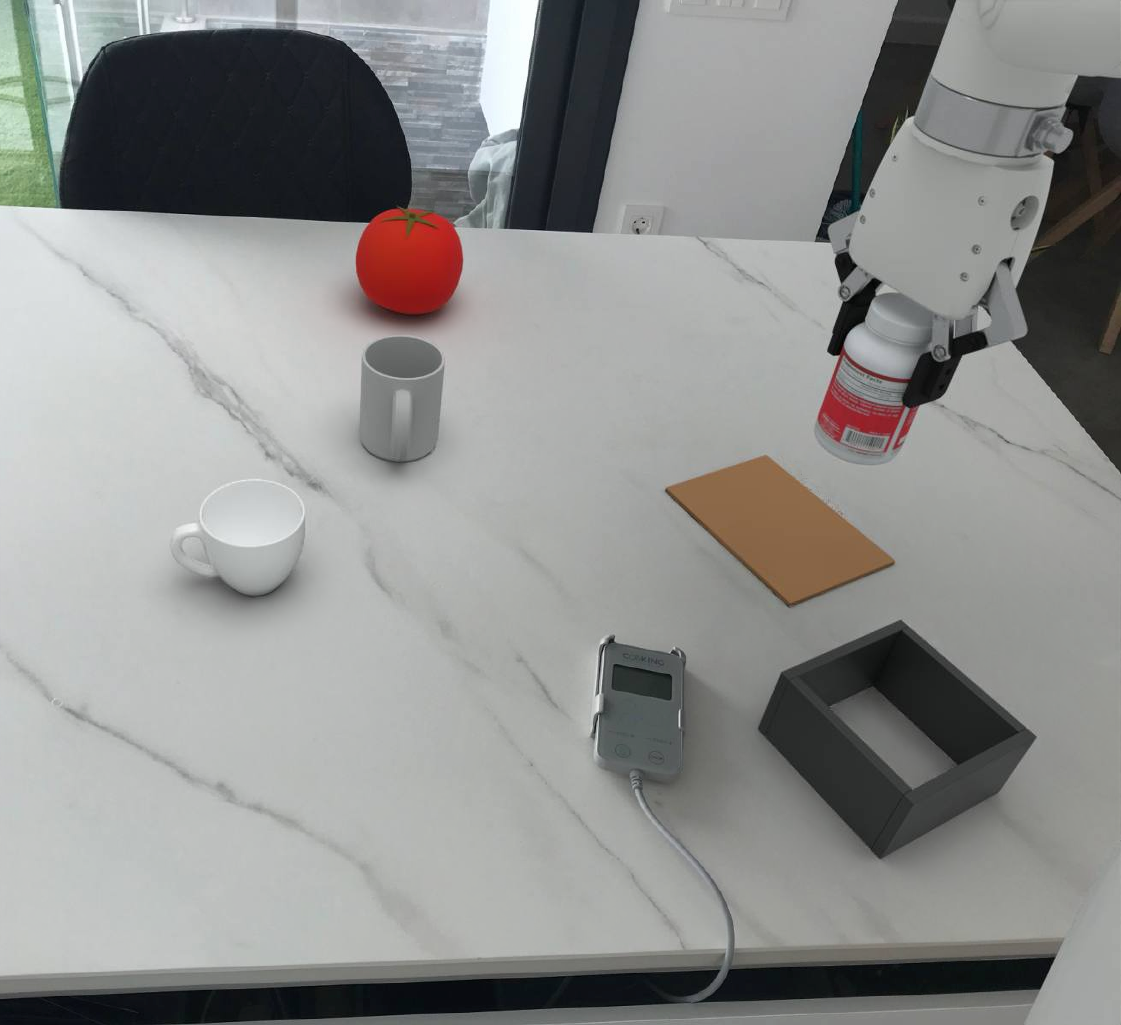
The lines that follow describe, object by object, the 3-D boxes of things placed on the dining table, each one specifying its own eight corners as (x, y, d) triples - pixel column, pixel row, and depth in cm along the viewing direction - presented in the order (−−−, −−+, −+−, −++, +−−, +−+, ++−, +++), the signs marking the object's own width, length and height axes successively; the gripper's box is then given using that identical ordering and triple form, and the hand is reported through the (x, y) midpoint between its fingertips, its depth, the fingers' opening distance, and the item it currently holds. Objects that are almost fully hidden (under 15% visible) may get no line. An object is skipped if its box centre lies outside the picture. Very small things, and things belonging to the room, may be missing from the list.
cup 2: (436, 418, 102) (443, 337, 96) (439, 485, 95) (447, 400, 89) (360, 415, 102) (363, 333, 96) (356, 481, 94) (359, 396, 88)
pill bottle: (862, 413, 82) (915, 282, 75) (915, 461, 77) (976, 326, 70) (794, 425, 80) (841, 291, 73) (845, 475, 76) (900, 338, 68)
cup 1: (313, 605, 82) (312, 539, 78) (178, 622, 80) (170, 555, 75) (297, 539, 88) (296, 473, 83) (171, 553, 85) (164, 486, 81)
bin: (999, 791, 74) (1037, 736, 70) (880, 859, 69) (913, 804, 65) (872, 674, 81) (900, 618, 77) (757, 728, 76) (780, 671, 72)
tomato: (464, 284, 123) (473, 196, 116) (449, 339, 113) (458, 247, 106) (367, 271, 123) (370, 183, 116) (344, 324, 114) (346, 232, 107)
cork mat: (894, 564, 91) (895, 560, 91) (789, 607, 86) (790, 603, 86) (765, 457, 101) (766, 454, 101) (664, 490, 96) (665, 487, 96)
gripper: (1157, 165, 59) (1019, 430, 71) (915, 64, 70) (830, 307, 82) (1071, 184, 56) (942, 458, 68) (832, 75, 67) (756, 326, 79)
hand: (881, 373), depth 75 cm, fingers closed on pill bottle, 6 cm apart
